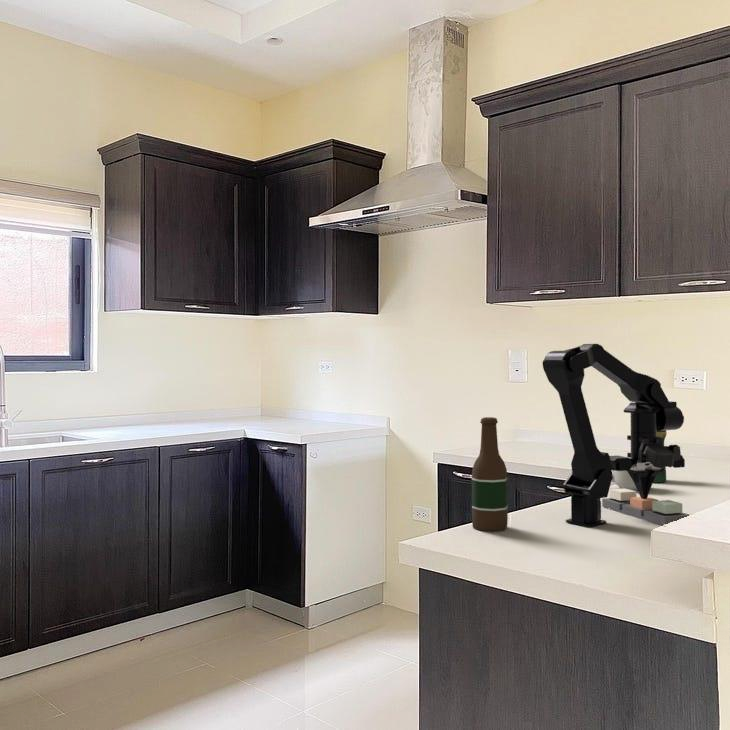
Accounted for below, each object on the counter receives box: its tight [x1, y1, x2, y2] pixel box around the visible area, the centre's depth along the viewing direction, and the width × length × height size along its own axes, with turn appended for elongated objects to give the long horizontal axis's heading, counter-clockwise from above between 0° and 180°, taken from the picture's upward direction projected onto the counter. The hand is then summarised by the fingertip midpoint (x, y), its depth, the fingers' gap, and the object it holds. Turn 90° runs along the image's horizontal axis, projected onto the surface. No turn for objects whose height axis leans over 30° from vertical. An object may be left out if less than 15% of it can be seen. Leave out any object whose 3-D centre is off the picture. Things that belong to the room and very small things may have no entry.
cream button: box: [609, 488, 638, 501], centre depth 181 cm, size 4×4×2 cm
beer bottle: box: [471, 416, 509, 533], centre depth 161 cm, size 8×8×24 cm
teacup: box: [611, 470, 638, 492], centre depth 208 cm, size 14×11×8 cm
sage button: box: [652, 499, 683, 514], centre depth 166 cm, size 4×4×2 cm
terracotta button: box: [630, 496, 659, 509], centre depth 173 cm, size 4×4×2 cm
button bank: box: [601, 497, 690, 526], centre depth 173 cm, size 23×7×2 cm, turn 16°
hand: (644, 498), depth 173 cm, fingers closed, pressing on terracotta button
